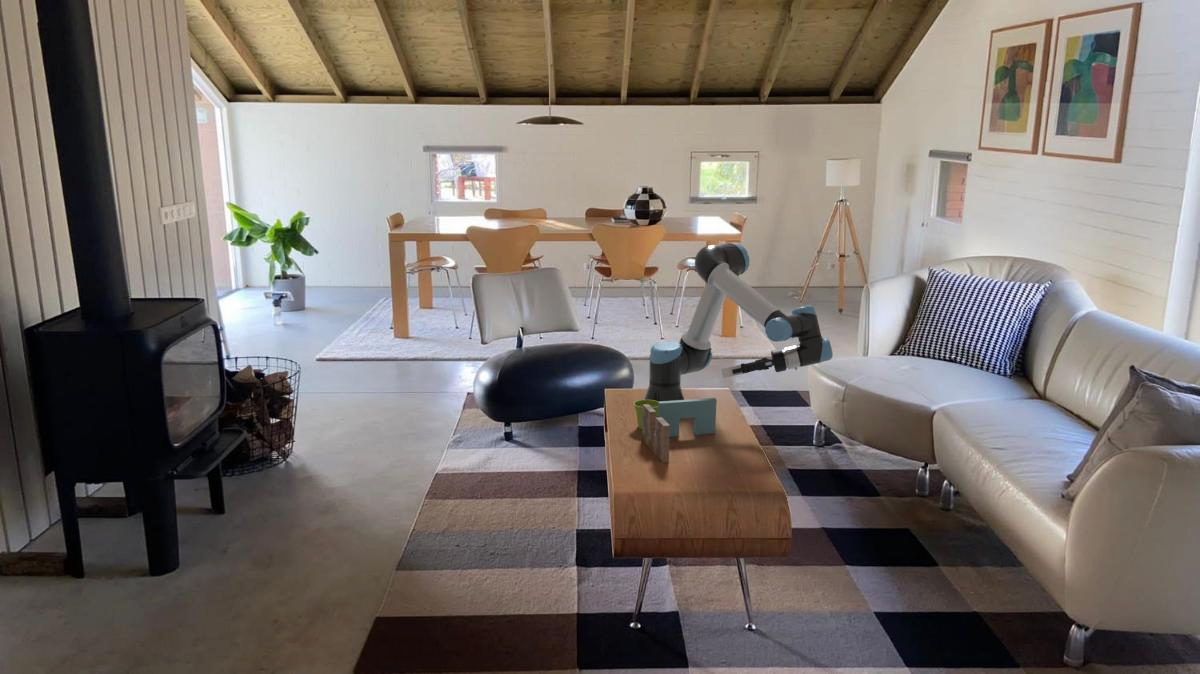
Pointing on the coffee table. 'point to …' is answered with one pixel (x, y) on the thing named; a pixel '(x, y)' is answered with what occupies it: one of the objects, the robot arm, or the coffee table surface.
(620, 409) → the coffee table surface
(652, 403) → the plant pot
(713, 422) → the slotted plate
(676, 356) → the robot arm
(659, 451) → the walnut board
